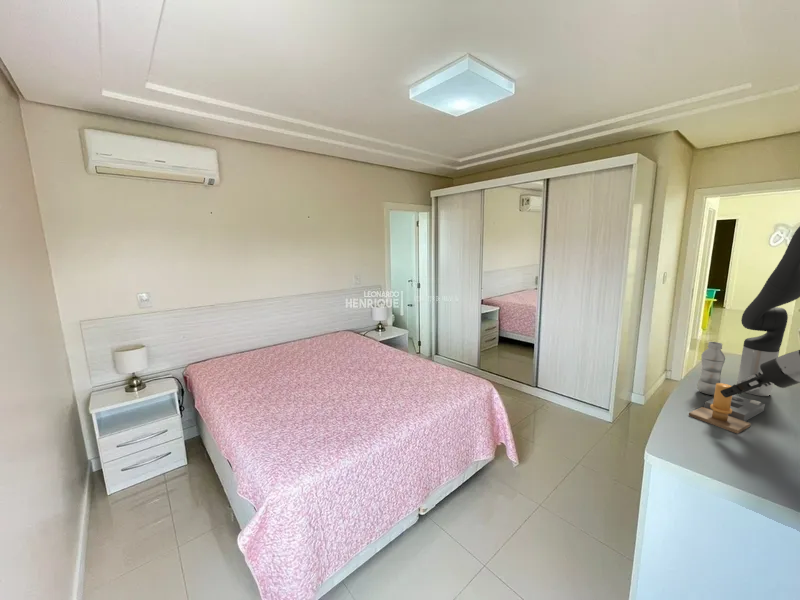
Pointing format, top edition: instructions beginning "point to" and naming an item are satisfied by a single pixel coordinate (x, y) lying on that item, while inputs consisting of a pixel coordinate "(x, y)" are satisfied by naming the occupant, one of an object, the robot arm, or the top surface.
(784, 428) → the top surface
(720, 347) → the plastic bottle
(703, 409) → the board
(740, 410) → the grey socket board
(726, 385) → the plug
